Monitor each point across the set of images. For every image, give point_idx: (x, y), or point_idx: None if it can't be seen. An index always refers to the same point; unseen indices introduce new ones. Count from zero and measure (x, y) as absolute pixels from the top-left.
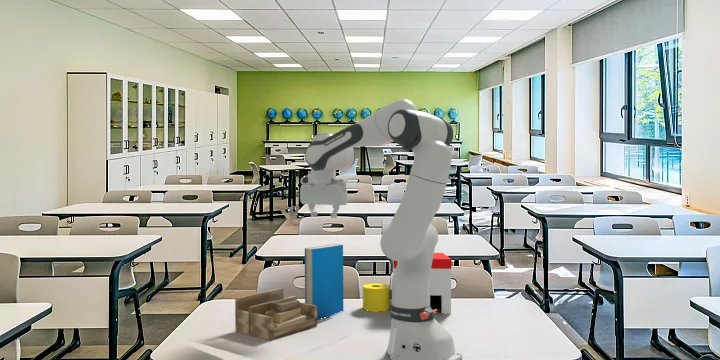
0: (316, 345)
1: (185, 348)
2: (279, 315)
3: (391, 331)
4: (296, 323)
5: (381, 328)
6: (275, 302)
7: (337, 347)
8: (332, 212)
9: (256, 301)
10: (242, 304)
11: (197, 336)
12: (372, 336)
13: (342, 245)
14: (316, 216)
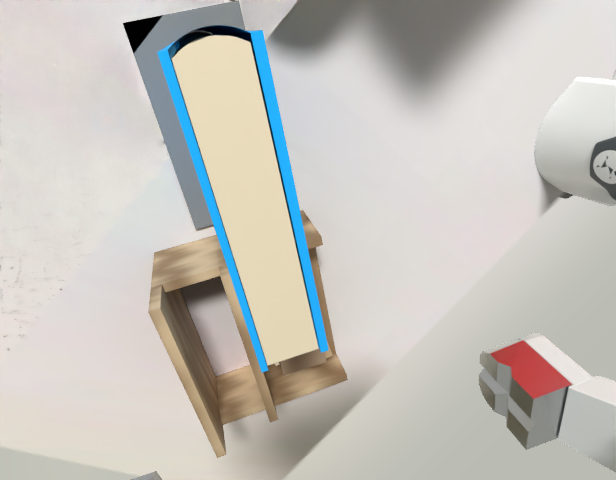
0: (421, 284)
1: (265, 468)
2: (330, 353)
3: (588, 192)
4: (323, 292)
5: (447, 71)
6: (289, 365)
7: (461, 257)
8: (567, 443)
9: (203, 387)
10: (219, 424)
11: (198, 448)
12: (471, 147)
13: (263, 38)
14: (158, 477)
